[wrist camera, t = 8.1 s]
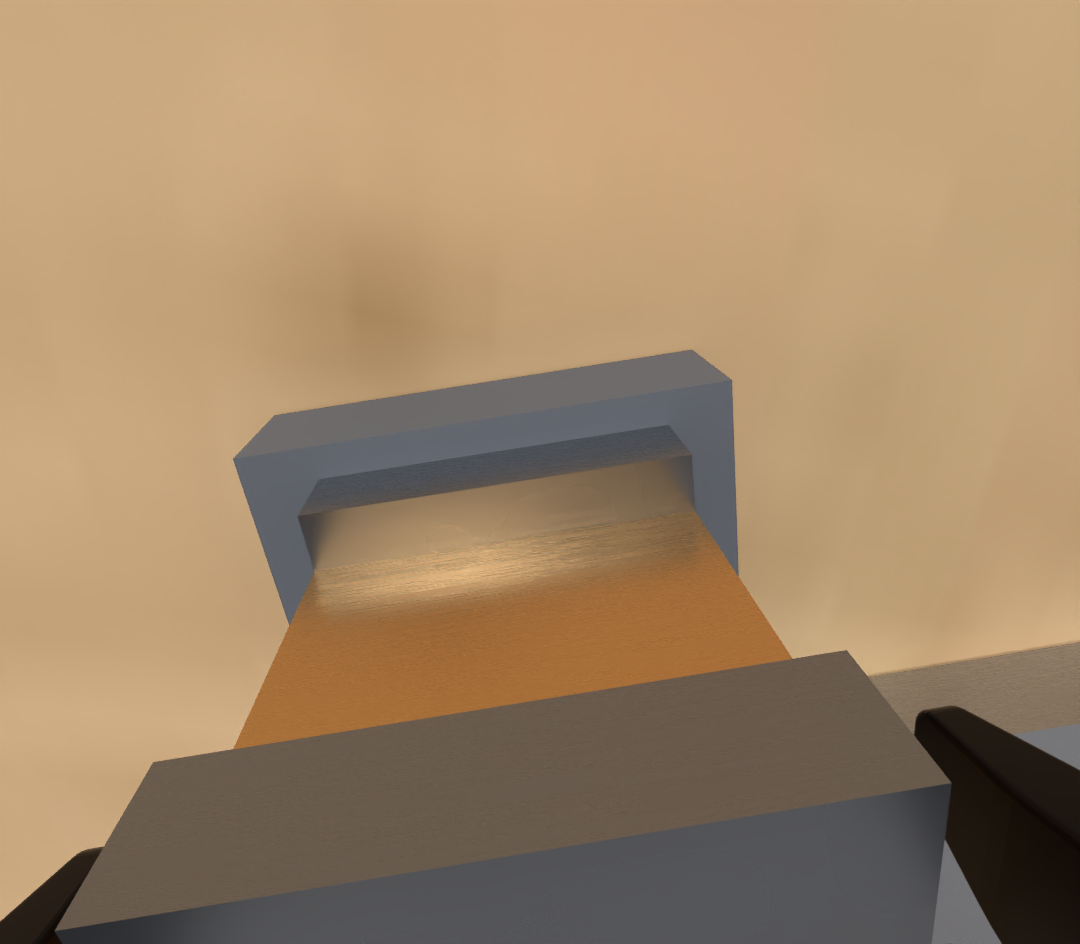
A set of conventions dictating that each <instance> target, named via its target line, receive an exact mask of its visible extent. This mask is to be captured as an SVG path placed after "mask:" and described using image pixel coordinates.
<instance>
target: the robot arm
mask: <svg viewBox="0 0 1080 944" xmlns="http://www.w3.org/2000/svg"><path fill="white" fill-rule="evenodd" d="M914 736H915V737H916V739H917V740H918V741H919V742H920V744H921V745H922V746H923V747H924V749H925V750H926V751H927V752H928V754H929V755H930V756H931V758H932V759H933V760H934V761H935V763H936V764H937V765H938V766H939V768H940V769H941V770H942V771H943V773H944V774H945V775H946V776H947V778H948V779H949V780H950V782H951V783H952V785H951V793H950V801H949V809H948V817H947V825H946V833H945V841H946V843H947V844H948V846H949V848H950V850H951V852H952V854H953V856H954V858H955V860H956V862H957V864H958V865H959V867H960V869H961V871H962V873H963V875H964V877H965V879H966V881H967V883H968V885H969V887H970V888H971V890H972V892H973V894H974V896H975V898H976V900H977V902H978V904H979V906H980V907H981V909H982V911H983V913H984V915H985V916H986V918H987V920H988V922H989V924H990V925H991V927H992V929H993V930H994V932H995V934H996V935H997V937H998V939H999V940H1000V942H1001V943H1002V944H1080V770H1079V769H1077V768H1075V767H1074V766H1072V765H1070V764H1068V763H1066V762H1064V761H1062V760H1060V759H1058V758H1056V757H1055V756H1053V755H1051V754H1049V753H1047V752H1045V751H1043V750H1041V749H1039V748H1037V747H1036V746H1034V745H1032V744H1030V743H1028V742H1026V741H1024V740H1022V739H1020V738H1018V737H1017V736H1015V735H1013V734H1011V733H1009V732H1007V731H1005V730H1003V729H1001V728H999V727H998V726H996V725H994V724H992V723H990V722H988V721H986V720H984V719H982V718H980V717H979V716H977V715H975V714H973V713H971V712H969V711H967V710H965V709H963V708H961V707H958V706H952V705H950V706H943V707H937V708H931V709H925V710H922V711H920V712H919V713H918V715H917V716H916V720H915V729H914ZM102 849H103V847H98V848H92V849H87V850H84V851H82V852H80V853H78V854H77V855H76V856H74V857H73V858H72V859H71V860H70V861H68V862H67V863H66V864H65V865H64V866H63V867H62V868H60V869H59V870H58V871H57V872H56V873H55V874H54V875H53V876H51V877H50V878H49V879H48V880H47V881H46V882H45V883H43V884H42V885H41V886H40V887H39V888H38V889H37V890H36V891H34V892H33V893H32V894H31V895H30V896H29V897H28V898H26V899H25V900H24V901H23V902H22V903H21V904H20V905H18V906H17V907H16V908H15V909H14V910H13V911H12V912H11V913H9V914H8V915H7V916H6V917H5V918H4V919H3V920H1V921H0V944H62V942H61V941H60V939H59V938H58V936H57V934H56V933H55V929H56V928H57V926H58V924H59V923H60V921H61V919H62V918H63V916H64V914H65V912H66V911H67V909H68V907H69V906H70V904H71V902H72V900H73V899H74V897H75V895H76V894H77V892H78V890H79V888H80V887H81V885H82V883H83V882H84V880H85V878H86V877H87V875H88V873H89V871H90V870H91V868H92V866H93V865H94V863H95V861H96V859H97V858H98V856H99V854H100V853H101V851H102Z"/></svg>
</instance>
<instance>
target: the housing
mask: <svg viewBox="0 0 1080 944" xmlns="http://www.w3.org/2000/svg"><path fill="white" fill-rule="evenodd" d="M298 520H299V523H300V526H301V529H302V533H303V536H304V539H305V543H306V546H307V549H308V552H309V556H310V559H311V562H312V565H313V569H314V573H313V575H312V577H311V580H310V582H309V584H308V586H307V588H306V591H305V593H304V595H303V597H302V599H301V602H300V604H299V606H298V608H297V610H296V613H295V615H294V617H293V619H292V621H291V624H290V626H289V628H288V630H287V632H286V635H285V637H284V639H283V641H282V643H281V646H280V648H279V650H278V652H277V654H276V656H275V659H274V661H273V663H272V665H271V667H270V670H269V672H268V674H267V676H266V678H265V681H264V683H263V685H262V687H261V689H260V692H259V694H258V696H257V698H256V700H255V703H254V705H253V707H252V709H251V711H250V714H249V716H248V718H247V720H246V722H245V725H244V727H243V729H242V731H241V733H240V736H239V738H238V740H237V742H236V744H235V747H234V749H232V750H226V751H220V752H214V753H208V754H201V755H195V756H189V757H183V758H177V759H171V760H164V761H158V762H153V764H152V765H151V767H150V769H149V771H148V772H147V774H146V776H145V777H144V779H143V781H142V783H141V784H140V786H139V788H138V789H137V791H136V793H135V795H134V796H133V798H132V800H131V801H130V803H129V805H128V806H127V808H126V810H125V812H124V813H123V815H122V817H121V818H120V820H119V822H118V824H117V825H116V827H115V829H114V830H113V832H112V834H111V836H110V837H109V839H108V841H107V842H106V844H105V846H104V847H103V849H102V851H101V853H100V854H99V856H98V858H97V859H96V861H95V863H94V865H93V866H92V868H91V870H90V871H89V873H88V875H87V877H86V878H85V880H84V882H83V883H82V885H81V887H80V888H79V890H78V892H77V894H76V895H75V897H74V899H73V900H72V902H71V904H70V906H69V907H68V909H67V911H66V912H65V914H64V916H63V918H62V919H61V921H60V923H59V924H58V926H57V928H56V929H55V933H56V934H57V936H58V938H59V939H60V941H61V942H62V944H932V936H933V928H934V920H935V912H936V905H937V897H938V889H939V881H940V873H941V865H942V857H943V849H944V841H945V833H946V825H947V817H948V809H949V801H950V793H951V785H952V783H951V782H950V780H949V779H948V778H947V776H946V775H945V774H944V773H943V771H942V770H941V769H940V768H939V766H938V765H937V764H936V763H935V761H934V760H933V759H932V758H931V756H930V755H929V754H928V752H927V751H926V750H925V749H924V747H923V746H922V745H921V744H920V742H919V741H918V740H917V739H916V737H915V736H914V735H913V733H912V732H911V731H910V730H909V728H908V727H907V726H906V725H905V723H904V722H903V721H902V720H901V718H900V717H899V716H898V714H897V713H896V712H895V711H894V709H893V708H892V707H891V706H890V704H889V703H888V702H887V701H886V699H885V698H884V697H883V696H882V694H881V693H880V692H879V690H878V689H877V688H876V687H875V685H874V684H873V683H872V682H871V680H870V679H869V678H868V677H867V675H866V674H865V673H864V671H863V670H862V669H861V668H860V666H859V665H858V664H857V663H856V661H855V660H854V659H853V658H852V656H851V655H850V654H849V652H848V651H847V650H845V651H839V652H832V653H826V654H820V655H814V656H808V657H801V658H795V659H792V657H791V656H790V654H789V653H788V651H787V650H786V648H785V647H784V645H783V644H782V642H781V641H780V639H779V637H778V636H777V634H776V633H775V631H774V630H773V628H772V627H771V625H770V624H769V622H768V621H767V619H766V618H765V616H764V615H763V613H762V612H761V610H760V609H759V607H758V606H757V604H756V603H755V601H754V600H753V598H752V597H751V595H750V593H749V592H748V590H747V589H746V587H745V586H744V584H743V583H742V581H741V580H740V578H739V577H738V575H737V574H736V572H735V571H734V569H733V568H732V566H731V565H730V563H729V562H728V560H727V559H726V557H725V556H724V554H723V553H722V551H721V550H720V548H719V546H718V545H717V543H716V542H715V540H714V539H713V537H712V536H711V534H710V533H709V531H708V530H707V528H706V527H705V525H704V524H703V522H702V521H701V519H700V518H699V516H698V515H697V513H696V512H695V500H694V482H693V464H692V454H691V453H690V451H689V450H688V449H687V447H686V446H685V445H684V444H683V442H682V441H681V440H680V439H679V437H678V436H677V435H676V434H675V432H674V431H673V430H672V428H671V427H670V426H669V425H663V426H657V427H650V428H644V429H637V430H631V431H625V432H618V433H612V434H605V435H599V436H593V437H586V438H580V439H573V440H567V441H560V442H554V443H548V444H541V445H535V446H528V447H522V448H516V449H509V450H503V451H496V452H490V453H484V454H477V455H471V456H464V457H458V458H452V459H445V460H439V461H432V462H426V463H419V464H413V465H407V466H400V467H394V468H387V469H381V470H375V471H368V472H362V473H355V474H349V475H343V476H336V477H330V478H323V479H319V480H318V482H317V484H316V485H315V487H314V489H313V490H312V492H311V494H310V496H309V497H308V499H307V501H306V502H305V504H304V506H303V508H302V509H301V511H300V513H299V514H298Z"/></svg>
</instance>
